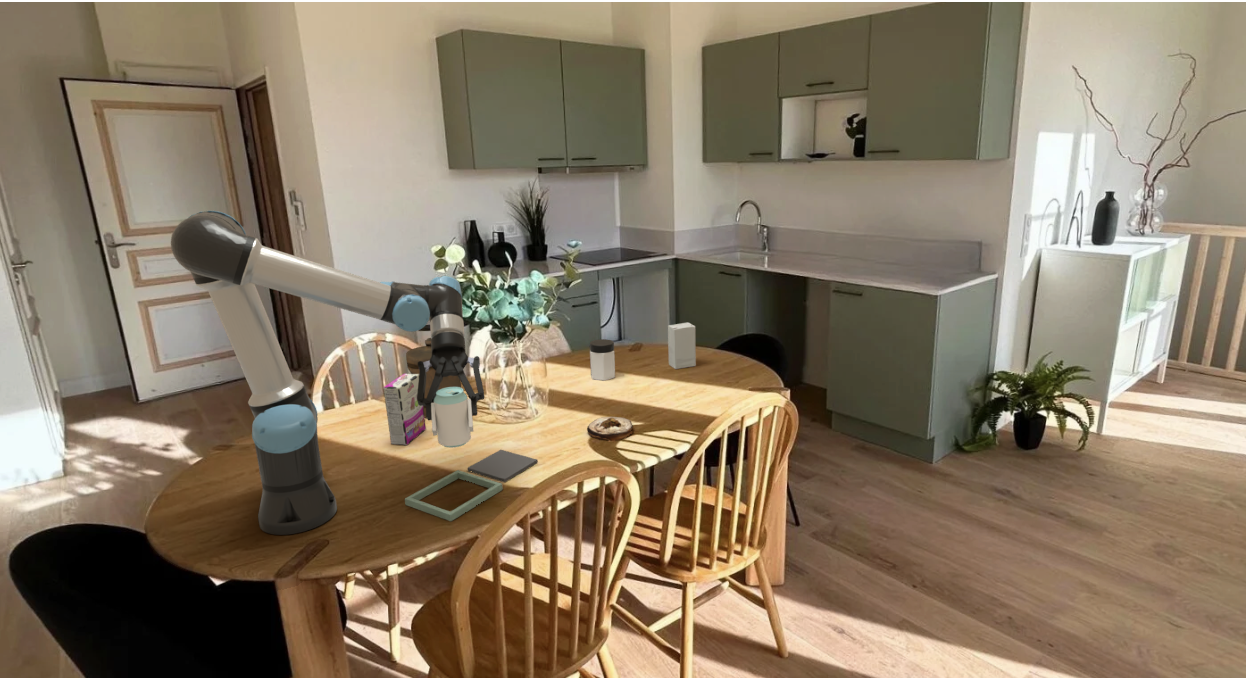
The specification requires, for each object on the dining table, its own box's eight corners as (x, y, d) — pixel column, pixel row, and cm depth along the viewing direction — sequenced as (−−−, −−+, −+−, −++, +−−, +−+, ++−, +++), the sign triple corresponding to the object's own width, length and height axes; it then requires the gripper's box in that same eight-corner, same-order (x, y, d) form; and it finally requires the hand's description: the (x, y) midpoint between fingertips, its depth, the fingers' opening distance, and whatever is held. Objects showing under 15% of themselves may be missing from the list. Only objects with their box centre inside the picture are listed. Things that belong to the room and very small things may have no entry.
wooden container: (421, 400, 215) (413, 332, 209) (468, 399, 215) (462, 331, 209) (405, 418, 201) (396, 345, 195) (455, 417, 201) (448, 345, 195)
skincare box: (688, 362, 247) (688, 321, 243) (696, 366, 242) (696, 325, 238) (667, 365, 244) (667, 324, 240) (674, 369, 239) (674, 328, 235)
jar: (606, 370, 239) (605, 337, 236) (620, 376, 233) (619, 342, 230) (585, 376, 234) (583, 342, 231) (599, 382, 228) (597, 347, 225)
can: (471, 434, 156) (467, 384, 153) (470, 447, 149) (465, 395, 146) (439, 437, 155) (434, 386, 152) (437, 450, 148) (431, 398, 145)
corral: (450, 521, 144) (450, 515, 144) (405, 504, 152) (404, 498, 151) (502, 489, 157) (502, 483, 157) (458, 475, 165) (457, 470, 164)
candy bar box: (410, 428, 194) (403, 372, 189) (426, 429, 193) (420, 373, 188) (389, 444, 183) (382, 386, 179) (406, 446, 182) (399, 387, 178)
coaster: (504, 482, 161) (504, 479, 161) (467, 470, 167) (467, 467, 167) (537, 462, 171) (537, 459, 170) (501, 452, 177) (500, 449, 177)
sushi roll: (571, 437, 186) (571, 422, 185) (603, 418, 198) (602, 405, 197) (617, 448, 178) (617, 433, 177) (647, 428, 190) (647, 414, 189)
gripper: (492, 342, 164) (500, 432, 153) (405, 350, 160) (407, 442, 149) (491, 326, 157) (499, 419, 147) (400, 333, 153) (402, 429, 143)
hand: (453, 431), depth 148 cm, fingers closed on can, 7 cm apart
